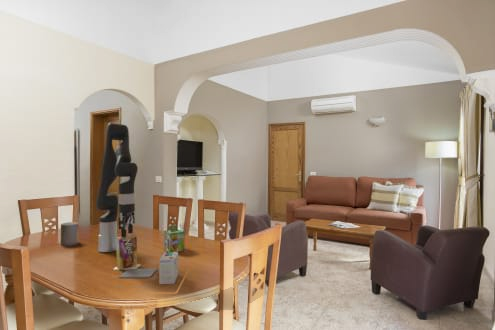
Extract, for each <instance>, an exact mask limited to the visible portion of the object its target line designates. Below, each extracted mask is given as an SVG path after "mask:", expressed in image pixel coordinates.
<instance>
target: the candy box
mask: <svg viewBox="0 0 495 330" xmlns="http://www.w3.org/2000/svg"><path fill="white" fill-rule="evenodd" d="M137 237H138V235H136V234H134V233H132V234H129V235H128V234H126V237H121V236H117V237H116V248H117V250H116V267H117V268H118V269H119V271H120V270H121V269H125V268H129V267H133V266H137V264H138V243H137V242H138V241H137V239H138V238H137ZM121 271H122V270H121Z"/></svg>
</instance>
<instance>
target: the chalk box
mask: <svg viewBox="0 0 495 330" xmlns="http://www.w3.org/2000/svg"><path fill="white" fill-rule="evenodd" d="M173 228H175V229H173ZM185 235H186V234H185V231H184V230H181V229H179V228H178V225H177V224H174V225H169V230H164V235H163V236H164V237H163V240H164V241H163V242H164V251H165V252H178V253H180V252H185V237H186V236H185Z"/></svg>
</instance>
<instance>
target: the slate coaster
mask: <svg viewBox="0 0 495 330" xmlns="http://www.w3.org/2000/svg"><path fill="white" fill-rule="evenodd" d="M157 271H158V269H157V268H137V269H127V270H124V271H123V273H121V274H120V276H119V278H118V279H123V278H124V279H126V278H127V279H130V278H131V279H134V278H135V279H138V278H139V279H147V278H149V279H151V278H152V276H154V274H155V273H156V272H157Z"/></svg>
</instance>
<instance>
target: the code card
mask: <svg viewBox="0 0 495 330" xmlns="http://www.w3.org/2000/svg"><path fill="white" fill-rule="evenodd" d="M140 266H141V264H139V263H137V266H133V267H129V268H125V269H121V271H122V270H124V271H126V270H127V269H139V267H140ZM112 270H113V271H118V270H119V269H118V268H117V266H115V267H114V268H113V269H112ZM119 271H120V270H119Z"/></svg>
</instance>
